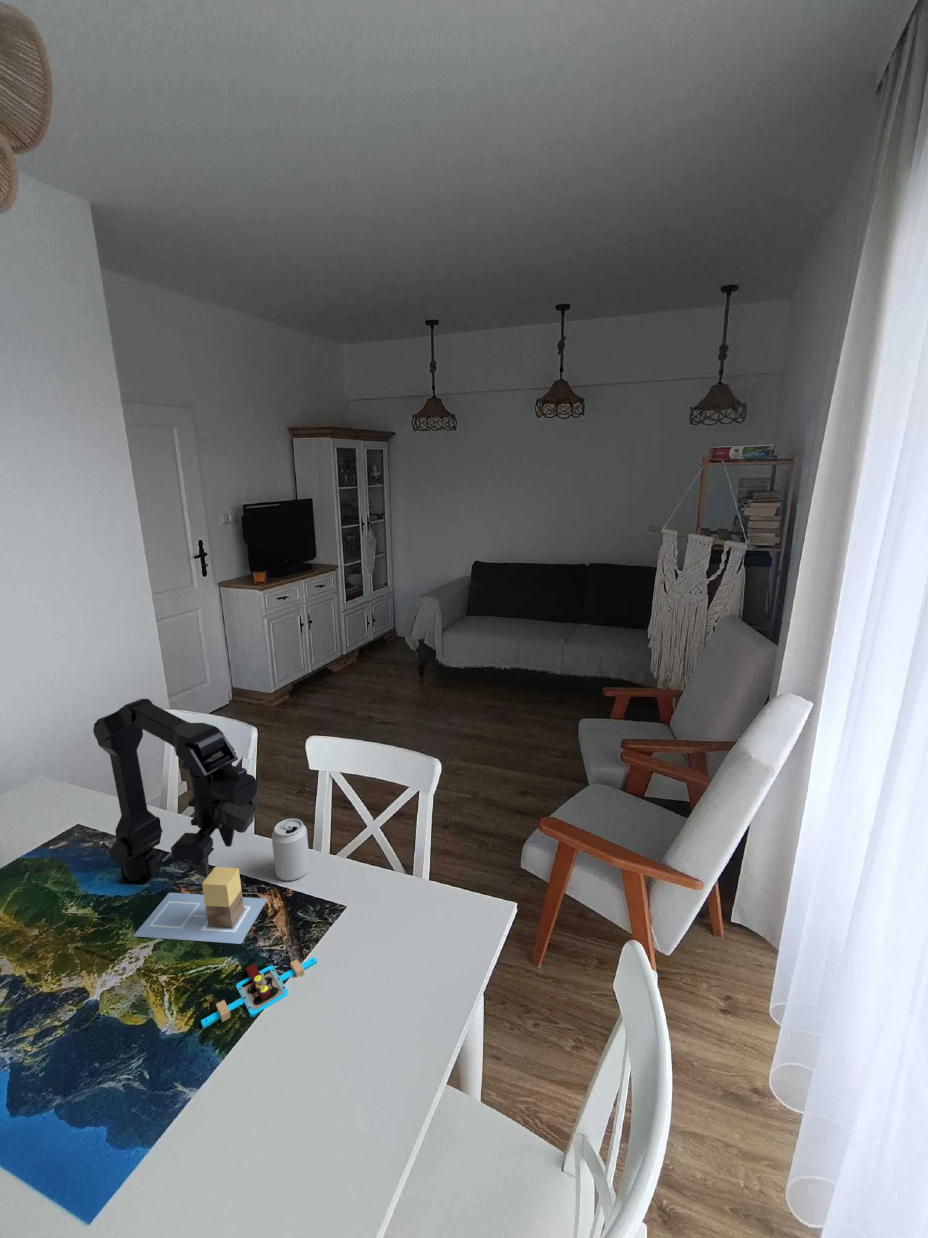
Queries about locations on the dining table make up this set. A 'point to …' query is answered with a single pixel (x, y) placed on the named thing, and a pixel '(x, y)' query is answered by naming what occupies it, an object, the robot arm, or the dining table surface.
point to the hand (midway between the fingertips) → (217, 860)
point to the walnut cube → (225, 913)
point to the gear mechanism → (262, 989)
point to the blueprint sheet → (196, 920)
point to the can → (290, 849)
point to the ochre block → (221, 887)
